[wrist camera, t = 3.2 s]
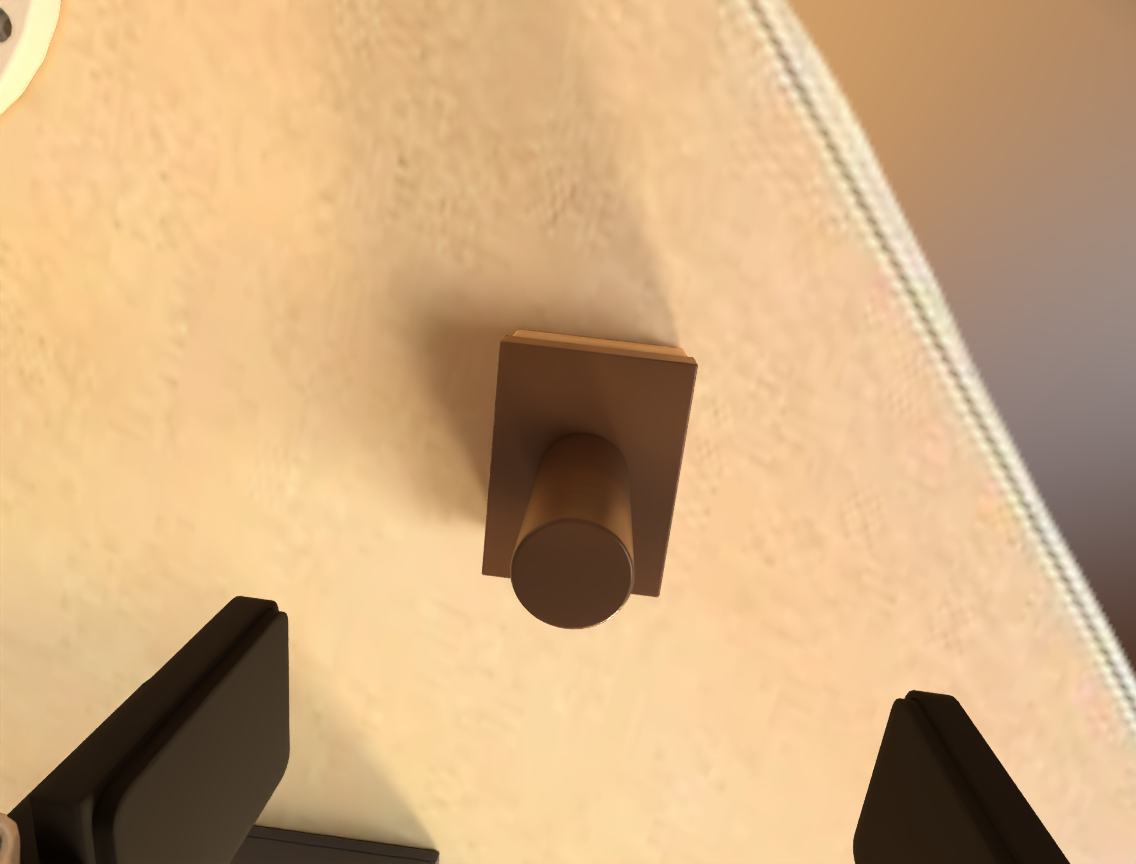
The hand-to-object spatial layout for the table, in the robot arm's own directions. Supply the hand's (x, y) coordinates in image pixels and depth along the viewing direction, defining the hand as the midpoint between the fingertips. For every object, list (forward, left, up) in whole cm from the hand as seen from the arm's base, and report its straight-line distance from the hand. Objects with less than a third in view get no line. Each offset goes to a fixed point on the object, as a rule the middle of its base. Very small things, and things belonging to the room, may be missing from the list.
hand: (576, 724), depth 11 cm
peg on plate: (0, 0, -13) cm, 13 cm away
